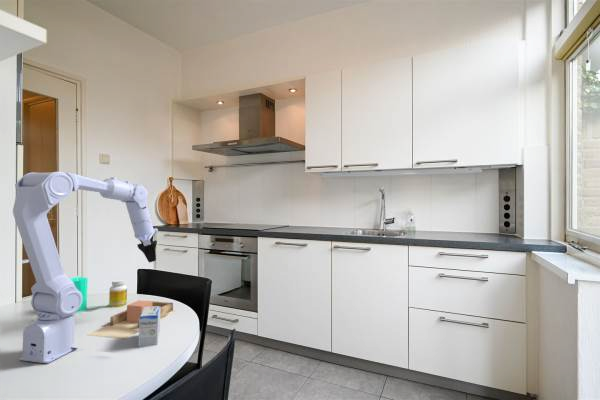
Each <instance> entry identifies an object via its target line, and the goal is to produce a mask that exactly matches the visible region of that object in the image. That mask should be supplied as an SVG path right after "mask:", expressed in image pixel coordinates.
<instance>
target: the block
mask: <svg viewBox="0 0 600 400" xmlns="http://www.w3.org/2000/svg"><path fill="white" fill-rule="evenodd" d="M151 306H152V300H139V299H138V300H136V301H133V302H132V303H129V304H126V310H127V321H126V322H133V323H138V319H140V315H141V313H142V310H143V308H144V307H151Z"/></svg>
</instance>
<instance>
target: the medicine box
mask: <svg viewBox="0 0 600 400" xmlns="http://www.w3.org/2000/svg"><path fill="white" fill-rule="evenodd" d="M160 312H161V307H160V306H151V307H144V308H143V310H142V313H141V315H140V319H139V332H138V348H144V347H152V346H158V343H159V336H160V331H161V330H160V329H161V319H160Z"/></svg>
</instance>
